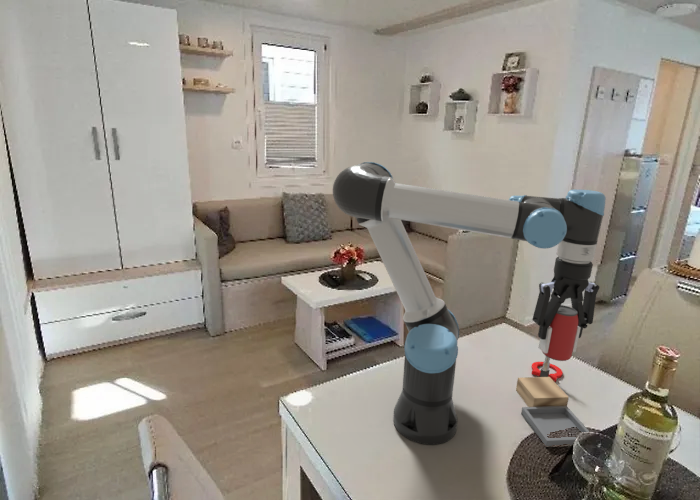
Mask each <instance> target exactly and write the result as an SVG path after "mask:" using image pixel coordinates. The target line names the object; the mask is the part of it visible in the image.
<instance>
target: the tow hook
mask: <svg viewBox="0 0 700 500" xmlns="http://www.w3.org/2000/svg"><path fill="white" fill-rule="evenodd" d="M550 360H551V358H549V357H547V356H544V360H543V361H535V362H533V363H531V370H532V371H531V375H533V376H535V377H550V378H551V379H552V380H553V381H554V382H555V383H556V382H557V380H558V379H560V378H562V377H563V373H564V372H563V370H562V369H561V368H560V367H559V366H557V365H555V364H552V363H550ZM538 367H541V369H539V368H538ZM550 369H551V370H554V371H555V373H550Z"/></svg>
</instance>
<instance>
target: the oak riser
mask: <svg viewBox="0 0 700 500" xmlns="http://www.w3.org/2000/svg"><path fill="white" fill-rule="evenodd" d="M516 380H517V381H516V387H515V392H517V394H518V395H519V396H520V398H521V399H522V400H523V402H524V403H525V404H526V406H527V407H546V406H567V407H568V402H569V398H570V397H569V395H567V393H566V392H565V391H564V390H563V389H562V388H561V387H560V386H559V385H558V384H557V383H556V382H554V381H553V380H552V379H551V378H550V377H539V376H535V377H533V376H532V377H517V379H516Z"/></svg>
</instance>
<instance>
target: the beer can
mask: <svg viewBox="0 0 700 500" xmlns="http://www.w3.org/2000/svg"><path fill="white" fill-rule="evenodd" d="M577 314H578V312H577V311H576V310H575V309H573V308H572V306H568V305H563V304H561V306H560V307H559V309H558V311H557V313H556V315H555V317H554V319H553V321H552V322H551V324H550V327H551V328H552V333H551V338H550V343H549V349H548V353H544V352H543V351H541V352H542V354H543V355H544V357H546V356H547V357H549V358H550V360H553V361H557V362H559V361H560V362H567V361H569V360H570V359H571V358H572V356H573V352H572V351H573V346H574V342H575V337H576V332H577V327H578V315H577Z"/></svg>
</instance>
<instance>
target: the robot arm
mask: <svg viewBox="0 0 700 500" xmlns="http://www.w3.org/2000/svg"><path fill="white" fill-rule="evenodd" d="M332 197H333V199H334V203H335V205H336V206H337V208H338V209H339V210H340V211H341V212H343V213H344V214H345V215H347V216H350V217H353V218H355V219H356V222H357V223H358V225H359V226H362V227H365V229H367V231H368V233H369V235H370V237H371V240H372V242H373V244H374V246H375V248H376V250H377V252H378V254H379V256H380V259H381V261H382V263H383V265H384V268H385V269H386V272H387V274H388V276H389V278H390V280H391V283H392V284H393V287H394V289H395V292H396V293H397V296H398V297H399V300H400V302H401V304H402V306H403V308H404V313H403V316H402V320H403V322H404V325H405V326H406V328H407V331H408V333H407V334H406V338H405V343H404V347H403V348H404V360H403V361H404V364H403V375H402V376H403V377H402V391H401V393H400V395H399V397H398V399H397V401H396V404H395V406H394V408H393V417H392V421H393V424H394V426H395V429H396V430H397V431H398V433H400V434H401V435H402V436H403V437H405V438H406V439H408V440H410V441H412V442H415V443H418V444H421V445H440V444H443V443H447V442H448V441H450V440H451V439H452V438H454V437H455V435H456V432H457V427H458V415H457V412H456V407H455V405H454V400H453V392H454V383H455V374H456V367H457V366H456V365H457V358H458V355H459V347H458V340H459V338H460V337H459V335H460V327H459V323H458V320H457V318H456V316H455V315H454V313H453V312H452V311H451V310H450V309H448V307H447V305H446V302H445V301H444V299H441V298H439V297H436V294H435V292H434V289H433V287H432V285H431V283H430V281H429V279H428V277H427V275H426V272H425V270H424V268H423V266H422V263H421V261H420V259H419V257H418V255H417V252H416V250H415V248H414V246H413V244H412V241H411V239H410V237H409V235H408V232H407V231H406V228H405V225H404V223H403V222H402V221H407V222H413V223H417V224H423V225H431V226H437V227H441V228H446V229H447V228H448V229H453V230H460V231H466V232H471V233H477V234H483V235H490V236H496V237H500V238H507V239H513V240H515V241H516V240H517V241H523V242H526V243H528V244H529V245H532V246H533V247H535V248H538V249H551V248H554V247H556V246H557V248H556V256H557V257H556V258H555V262H554V265H553V278H552V279H551V281H550V282H546V283H545V282H542V281H541V282H539V283H538V287H539V288H538V289H539V293H538V297H537V300H536V304H535V307H534V308H535V309H534V313H533V314H532V322H534V323H535V324H536V325H538V326H539V327H538V328H539V329H538V334H537V336H538V338H539V342H538V349H539V350H541V352H542V351H543V352H544V353H548V349H549V343H550V338H551V333H552V328H551V327H550V324H551V322H552V321H553V319H554V317H555V315H556V313H557V311H558V309H559V307H560V306H561V305H563V304H564V303H565V302H566V300H568V299H570V302H571V308H573V309H575V310H576V311H577V312H578V314H577V315H578V327H577V332H576V337H575V342H574V346H573V351H572V353H576V351H577V347H578V343H579V339H581V338H582V335H583V330H584V329H587V328H588V325H592V324H593V322H594V317H595V316H594V314H595V308H596V298H597V294H598V292H599V289H600V285H599V284H596V283H594V282H593V281H589V279H590V278H591V275H592V271H593V266H594V264H593V261H594V259H595V255H596V251H597V246H598V240H599V235H600V232H601V227H602V223H603V218H604V216H605V208H606V200H607V199H606V198H607V197H606V195H605V194H604V193H603V192H601V191H597V190H591V189H574V188H573V189H570V190H569V191H568V192H567V194H566V196H565V197H560V198H557V197H556V198H555V197H545V196H533V195H527V194H524V195H510V197H509V199H503V198H498V197H497V198H496V197H491V196H490V197H489V196H485V195H477V194H470V193H464V192H456V191H450V190H444V189H437V188H432V187H424V186H419V185H411V184H404V183H397V182H396V181H395V180H394V177H393V175H392V173H391V171H389V169H388V168H387V167H385V166H384V165H382V164H380V163H377V162H372V161H364V162H361V163H359V164H355V165H351V166H349V167H346V168H345V169H343V170H342V171H341V172H340V173H338V175H337V176H336V178H335V180H334V181H333V185H332ZM583 292H584V293H583ZM543 352H542V353H543Z"/></svg>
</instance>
